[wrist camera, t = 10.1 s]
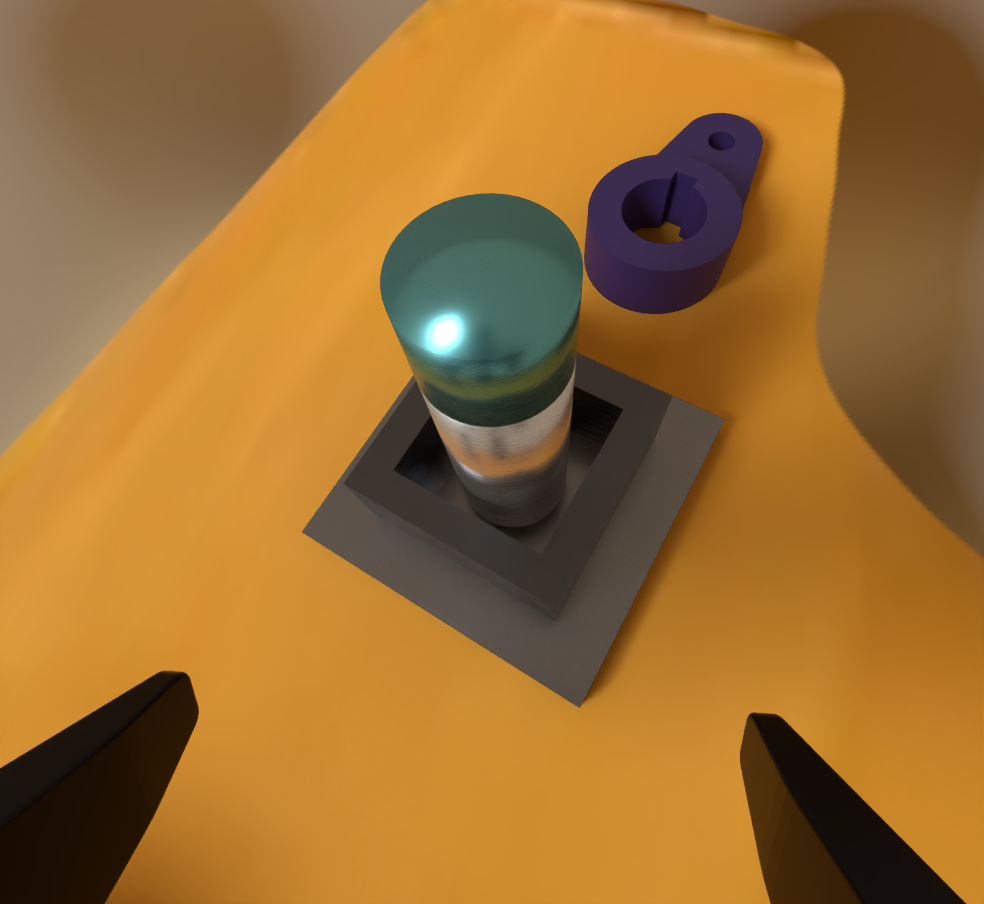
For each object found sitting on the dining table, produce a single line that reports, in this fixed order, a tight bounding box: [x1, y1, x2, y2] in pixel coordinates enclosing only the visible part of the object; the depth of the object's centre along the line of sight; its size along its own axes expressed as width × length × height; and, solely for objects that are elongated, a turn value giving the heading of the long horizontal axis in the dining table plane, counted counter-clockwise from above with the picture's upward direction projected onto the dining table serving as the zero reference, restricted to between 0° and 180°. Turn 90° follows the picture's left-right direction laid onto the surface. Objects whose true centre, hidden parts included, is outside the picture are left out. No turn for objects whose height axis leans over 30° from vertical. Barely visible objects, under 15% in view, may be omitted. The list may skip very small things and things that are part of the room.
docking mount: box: [302, 353, 725, 708], centre depth 21 cm, size 12×12×4 cm
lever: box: [584, 113, 763, 314], centre depth 27 cm, size 12×6×3 cm, turn 148°
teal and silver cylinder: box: [380, 193, 583, 527], centre depth 17 cm, size 4×4×12 cm
